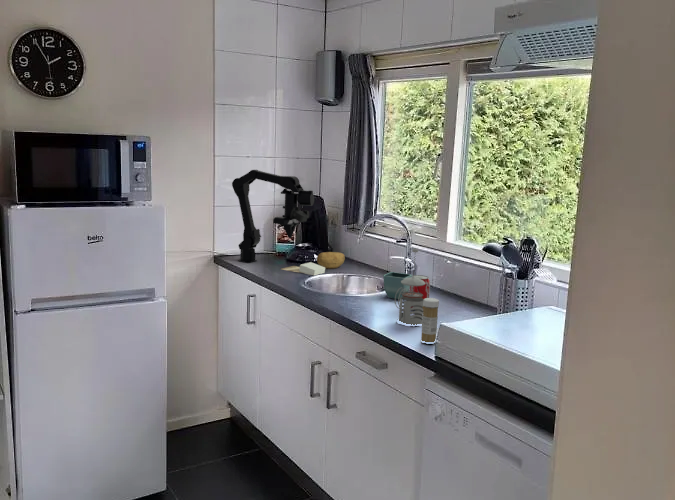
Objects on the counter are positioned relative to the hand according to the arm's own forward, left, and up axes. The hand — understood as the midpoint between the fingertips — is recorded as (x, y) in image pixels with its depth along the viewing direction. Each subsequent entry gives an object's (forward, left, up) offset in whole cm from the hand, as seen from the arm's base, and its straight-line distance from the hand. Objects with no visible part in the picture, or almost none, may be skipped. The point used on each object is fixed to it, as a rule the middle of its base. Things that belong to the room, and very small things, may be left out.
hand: (289, 237), depth 288 cm
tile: (+15, -8, -10) cm, 20 cm away
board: (+10, -7, -13) cm, 18 cm away
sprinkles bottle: (+99, -62, -13) cm, 118 cm away
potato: (+18, +8, -13) cm, 24 cm away
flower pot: (+66, -19, -13) cm, 70 cm away
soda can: (+80, -29, -13) cm, 86 cm away
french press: (+85, -47, -13) cm, 98 cm away
